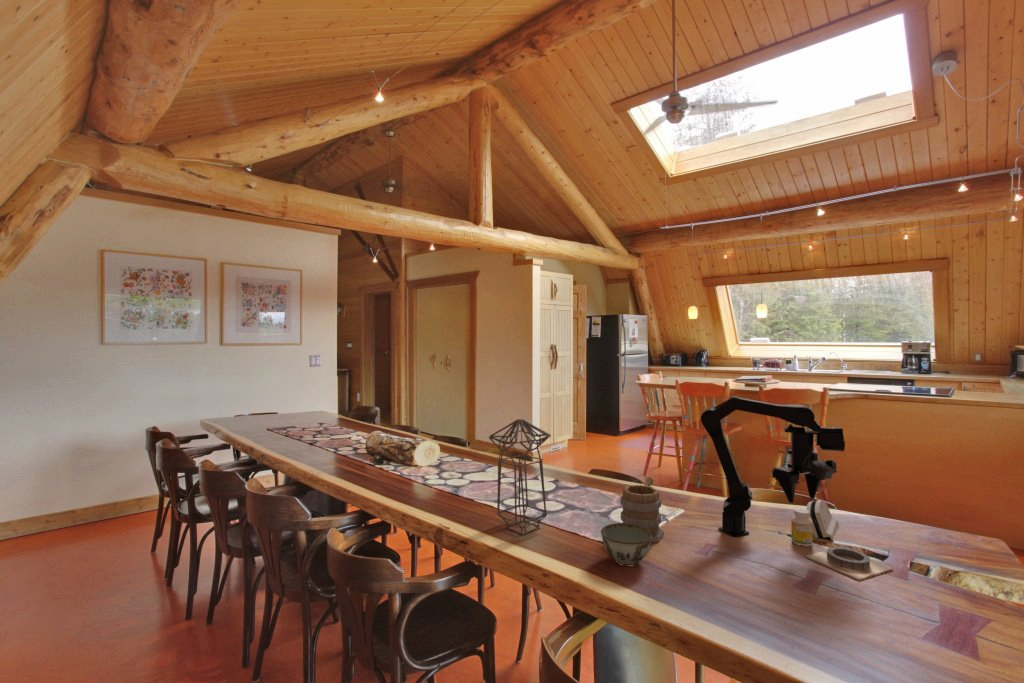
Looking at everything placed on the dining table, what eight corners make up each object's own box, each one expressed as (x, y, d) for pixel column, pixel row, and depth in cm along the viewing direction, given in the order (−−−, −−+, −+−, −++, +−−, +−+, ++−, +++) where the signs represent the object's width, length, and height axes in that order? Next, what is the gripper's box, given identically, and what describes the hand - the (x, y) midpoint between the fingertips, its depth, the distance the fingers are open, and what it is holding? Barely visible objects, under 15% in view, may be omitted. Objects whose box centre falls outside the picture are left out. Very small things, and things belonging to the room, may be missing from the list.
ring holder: (858, 580, 122) (858, 571, 122) (805, 557, 135) (805, 548, 135) (892, 570, 128) (892, 560, 128) (838, 548, 141) (838, 540, 141)
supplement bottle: (810, 548, 141) (810, 515, 141) (789, 543, 144) (789, 511, 144) (813, 542, 145) (813, 510, 145) (793, 537, 148) (793, 506, 148)
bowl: (653, 554, 137) (653, 526, 137) (650, 576, 124) (650, 545, 124) (604, 547, 142) (604, 520, 142) (597, 568, 129) (597, 538, 129)
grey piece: (833, 542, 145) (820, 508, 147) (816, 543, 148) (803, 510, 150) (839, 525, 158) (827, 494, 160) (823, 526, 161) (811, 496, 163)
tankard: (655, 546, 142) (655, 495, 142) (613, 537, 149) (614, 488, 149) (672, 524, 159) (672, 478, 159) (634, 516, 166) (634, 472, 166)
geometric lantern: (520, 542, 145) (517, 425, 145) (488, 528, 157) (485, 419, 157) (557, 527, 156) (554, 418, 156) (523, 515, 167) (521, 413, 167)
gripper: (806, 457, 133) (806, 514, 133) (850, 450, 141) (850, 504, 141) (770, 448, 143) (770, 501, 144) (813, 443, 151) (812, 493, 151)
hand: (801, 500), depth 145 cm, fingers open, 9 cm apart
